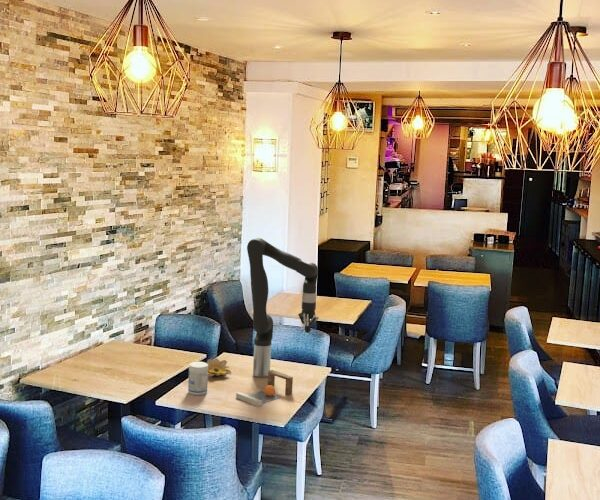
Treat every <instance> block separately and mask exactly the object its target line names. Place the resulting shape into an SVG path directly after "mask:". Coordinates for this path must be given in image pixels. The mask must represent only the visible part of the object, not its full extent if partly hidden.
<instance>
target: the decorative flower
mask: <svg viewBox="0 0 600 500" xmlns="http://www.w3.org/2000/svg"><path fill="white" fill-rule="evenodd" d="M206 363H207V364H208V378H211V377H213V376H216V377H219V376H221V375H222V376H227V375H232V370H229V369H230V367H229V366H227V364H228V360H226V359H222V360H219V358H217V357H214V358H213V359H207V362H206Z"/></svg>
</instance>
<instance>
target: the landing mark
mask: <svg viewBox="0 0 600 500" xmlns="http://www.w3.org/2000/svg"><path fill="white" fill-rule="evenodd" d="M248 395H249V396H251V397H254V398H256V399H259V400H262V405H263V404H266V403H269V402H271V401H274V400H278V399H280V398H281V396H277V395H275V394H274V395H272V396H267V395H266V394H265V392H264V390H259V391H255V392H253V393H249V394H248Z"/></svg>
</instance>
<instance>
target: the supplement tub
mask: <svg viewBox="0 0 600 500" xmlns="http://www.w3.org/2000/svg"><path fill="white" fill-rule="evenodd" d="M208 380H209V377H208V364H207V362H204V361H193V362H190V363H189V366H188V381H187V382H188V383H187V384H188V386H187V387H188V388H187V392H188V393H189V394H190V395H193V396H202V395H205V394H207V393H208V383H209V381H208Z"/></svg>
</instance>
